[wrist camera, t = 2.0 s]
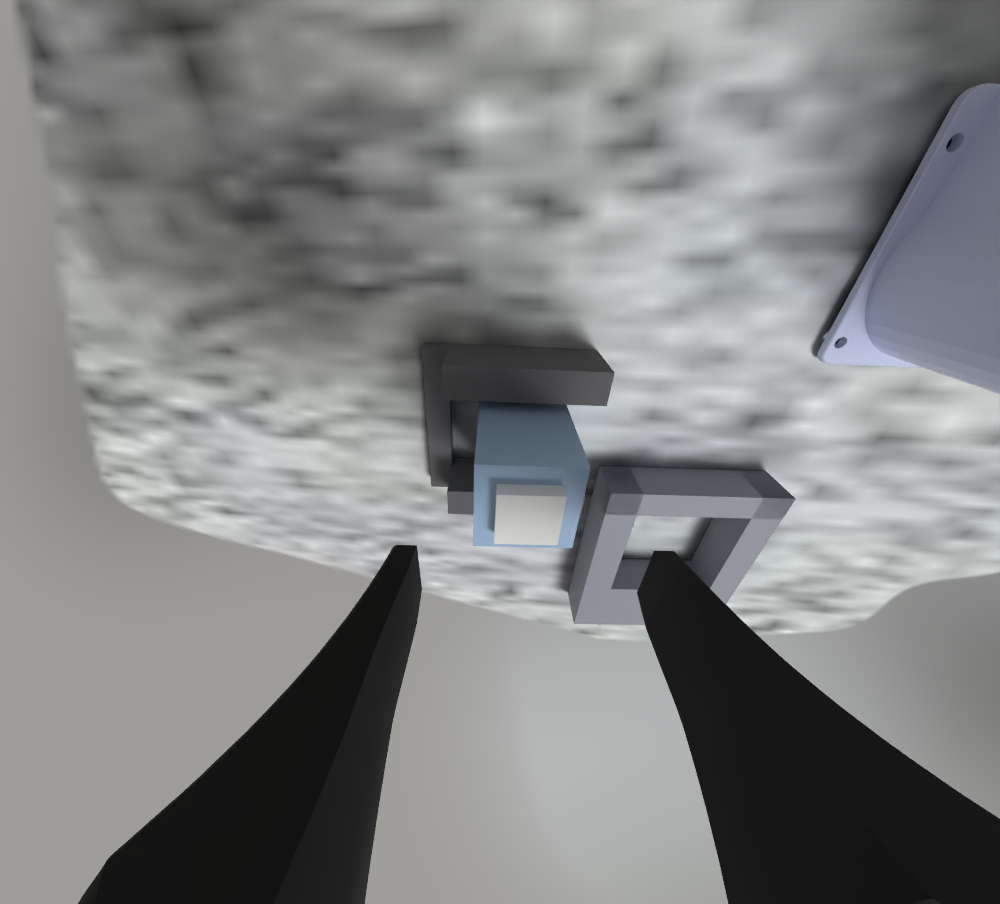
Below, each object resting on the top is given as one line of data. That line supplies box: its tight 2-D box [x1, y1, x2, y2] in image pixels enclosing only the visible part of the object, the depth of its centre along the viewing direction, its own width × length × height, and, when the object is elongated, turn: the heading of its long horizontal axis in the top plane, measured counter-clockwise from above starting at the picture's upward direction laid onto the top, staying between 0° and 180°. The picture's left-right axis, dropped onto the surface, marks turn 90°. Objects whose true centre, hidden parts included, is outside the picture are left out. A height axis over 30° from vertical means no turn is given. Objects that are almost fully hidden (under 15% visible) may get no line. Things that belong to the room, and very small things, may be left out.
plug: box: [473, 401, 591, 548], centre depth 16 cm, size 4×4×8 cm
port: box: [568, 466, 795, 625], centre depth 23 cm, size 12×10×3 cm
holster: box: [421, 342, 614, 517], centre depth 18 cm, size 8×8×3 cm
